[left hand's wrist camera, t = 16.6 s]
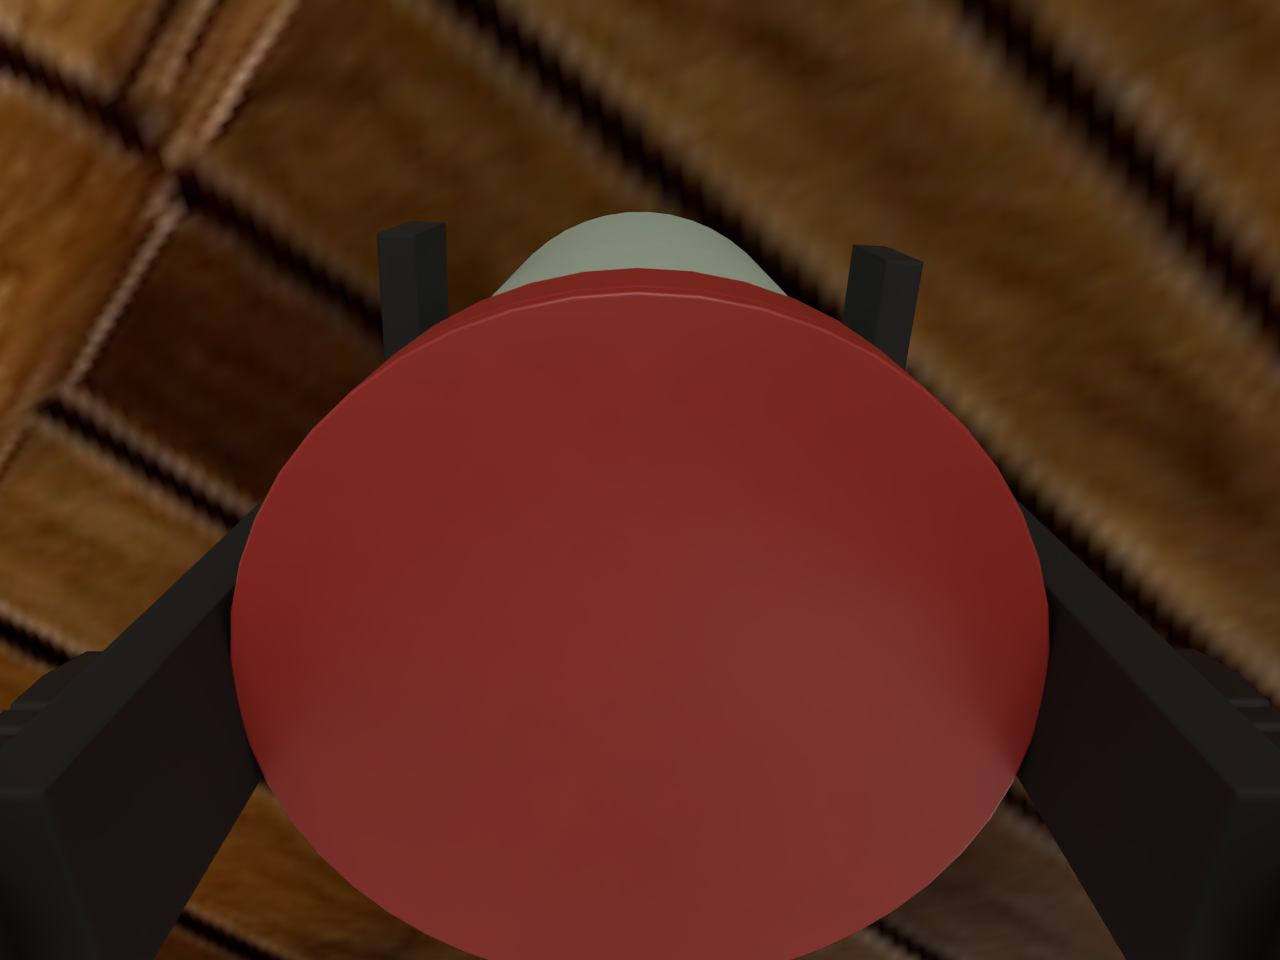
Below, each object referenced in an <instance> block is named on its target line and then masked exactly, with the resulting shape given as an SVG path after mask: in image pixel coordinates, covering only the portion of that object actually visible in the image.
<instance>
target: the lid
mask: <svg viewBox="0 0 1280 960" xmlns="http://www.w3.org/2000/svg"><path fill="white" fill-rule="evenodd" d="M230 658H231V665H232V672H233V678H234V683H235V688H236V693H237V698H238V703H239V707H240V712H241V716H242V720H243V725H244V728H245V731H246V735H247V738H248V741H249V745H250V747H251V749H252V751H253V753H254V756H255V758H256V760H257V762H258V764H259V766H260V769H261V771H262V773H263V775H264V777H265V779H266V781H267V784H268V786H269V787H270V789H271V790H272V792H273V793H274V795H275V796H276V798H277V800H278V801H279V803H280V804H281V806H282V807H283V809H284V810H285V812H286V814H287V815H288V817H289V818H290V820H291V821H292V823H293V824H294V825H295V826H296V827H297V829H298V830H299V831H300V832H301V833H302V835H303V836H304V837H305V838H306V839H307V841H308V842H309V843H310V844H311V845H312V846H313V848H314V849H315V850H316V851H317V852H318V854H319V855H320V856H321V857H322V858H323V859H324V860H325V861H326V862H328V863H329V864H330V865H331V866H332V867H333V868H334V869H335V870H336V871H337V872H338V873H339V874H340V875H341V876H343V877H344V878H345V879H346V880H347V881H348V882H349V883H350V884H351V885H352V886H353V887H355V888H356V889H358V890H359V891H360V892H362V893H363V894H364V895H366V896H367V897H368V898H370V899H371V900H372V901H374V902H375V903H376V904H378V905H379V906H381V907H382V908H383V909H385V910H386V911H387V912H389V913H391V914H392V915H394V916H396V917H397V918H399V919H401V920H403V921H404V922H406V923H408V924H409V925H411V926H413V927H415V928H416V929H418V930H420V931H421V932H423V933H425V934H427V935H429V936H431V937H433V938H435V939H438V940H440V941H442V942H444V943H447V944H449V945H451V946H453V947H455V948H458V949H460V950H462V951H464V952H467V953H469V954H472V955H475V956H478V957H481V958H484V959H487V960H792V959H795V958H798V957H801V956H804V955H807V954H810V953H813V952H815V951H818V950H820V949H822V948H824V947H827V946H829V945H831V944H833V943H835V942H837V941H839V940H842V939H844V938H846V937H848V936H850V935H852V934H855V933H857V932H858V931H860V930H862V929H863V928H865V927H867V926H868V925H870V924H872V923H874V922H875V921H877V920H879V919H880V918H882V917H884V916H885V915H887V914H889V913H890V912H892V911H894V910H895V909H897V908H898V907H899V906H901V905H902V904H903V903H905V902H906V901H907V900H908V899H910V898H911V897H912V896H914V895H915V894H916V893H918V892H919V891H920V890H922V889H923V888H924V887H926V886H927V885H928V884H930V883H931V882H932V881H933V880H934V879H935V878H936V877H937V876H938V875H939V874H940V873H941V872H942V871H943V870H944V869H946V868H947V867H948V866H949V865H950V864H951V863H952V862H953V861H954V860H955V859H956V858H957V857H958V856H959V855H960V854H961V853H962V852H963V851H964V850H965V849H966V847H967V846H968V845H969V844H970V842H971V841H972V840H973V839H974V838H975V836H976V835H977V834H978V833H979V832H980V830H981V829H982V828H983V827H984V825H985V824H986V823H987V822H988V821H989V819H990V818H991V816H992V815H993V813H994V812H995V810H996V808H997V807H998V805H999V804H1000V802H1001V800H1002V799H1003V797H1004V796H1005V794H1006V792H1007V791H1008V789H1009V788H1010V786H1011V784H1012V783H1013V781H1014V779H1015V777H1016V774H1017V772H1018V770H1019V768H1020V766H1021V763H1022V761H1023V759H1024V757H1025V754H1026V752H1027V750H1028V748H1029V746H1030V743H1031V741H1032V738H1033V734H1034V730H1035V726H1036V722H1037V717H1038V713H1039V709H1040V704H1041V700H1042V695H1043V690H1044V685H1045V680H1046V675H1047V669H1048V661H1049V619H1048V602H1047V597H1046V592H1045V587H1044V581H1043V576H1042V571H1041V566H1040V560H1039V557H1038V554H1037V551H1036V549H1035V546H1034V543H1033V540H1032V538H1031V535H1030V532H1029V529H1028V527H1027V524H1026V521H1025V518H1024V516H1023V513H1022V511H1021V509H1020V507H1019V505H1018V504H1017V502H1016V500H1015V498H1014V497H1013V495H1012V493H1011V491H1010V489H1009V488H1008V486H1007V484H1006V482H1005V480H1004V479H1003V477H1002V475H1001V473H1000V471H999V470H998V468H997V466H996V465H995V464H994V463H993V461H992V460H991V459H990V457H989V456H988V455H987V454H986V452H985V451H984V450H983V449H982V447H981V446H980V445H979V443H978V442H977V441H976V440H975V438H974V437H973V436H972V434H971V433H970V432H969V431H968V429H967V428H966V427H965V426H964V425H963V424H962V423H961V422H960V421H959V420H958V419H957V418H956V417H955V416H954V415H953V414H952V413H951V412H950V411H949V410H948V409H946V408H945V407H944V406H943V405H942V404H941V403H940V402H939V401H938V400H937V399H936V398H935V397H934V396H933V395H932V394H931V393H929V392H928V391H927V390H926V389H925V388H924V387H923V386H922V385H921V384H920V383H918V382H917V381H916V380H915V379H914V378H913V377H911V376H910V375H909V374H908V373H907V372H906V371H904V370H903V369H902V368H901V367H900V366H899V365H897V364H896V363H895V362H894V361H893V360H892V359H890V358H889V357H888V356H887V355H886V354H885V353H883V352H882V351H881V350H880V349H878V348H877V347H875V346H874V345H872V344H871V343H870V342H868V341H867V340H865V339H864V338H862V337H861V336H860V335H858V334H857V333H855V332H854V331H852V330H851V329H850V328H848V327H847V326H845V325H844V324H842V323H841V322H839V321H837V320H835V319H833V318H831V317H829V316H827V315H825V314H823V313H821V312H819V311H818V310H816V309H814V308H812V307H810V306H808V305H806V304H804V303H802V302H800V301H798V300H796V299H794V298H791V297H788V296H785V295H782V294H779V293H776V292H773V291H770V290H767V289H765V288H762V287H759V286H756V285H753V284H750V283H747V282H744V281H739V280H734V279H729V278H724V277H719V276H714V275H709V274H704V273H698V272H693V271H682V270H665V269H649V268H628V269H614V270H601V271H587V272H580V273H575V274H570V275H566V276H561V277H556V278H551V279H547V280H542V281H537V282H532V283H529V284H526V285H523V286H521V287H518V288H515V289H512V290H509V291H507V292H504V293H501V294H498V295H495V296H493V297H490V298H487V299H484V300H481V301H479V302H477V303H476V304H474V305H472V306H470V307H468V308H466V309H464V310H462V311H460V312H458V313H456V314H455V315H453V316H451V317H449V318H447V319H445V320H443V321H441V322H439V323H437V324H435V325H434V326H433V327H431V328H430V329H428V330H427V331H426V332H424V333H423V334H421V335H420V336H419V337H417V338H416V339H415V340H413V341H412V342H410V343H409V344H408V345H406V346H405V347H403V348H402V349H401V350H399V351H398V352H396V353H395V354H394V355H393V356H392V357H390V358H389V359H388V360H387V361H386V362H385V363H383V364H382V365H381V366H380V367H379V368H378V369H376V370H375V371H374V372H373V373H372V374H371V375H369V376H368V377H367V378H366V379H365V380H364V381H362V382H361V383H360V384H359V385H358V386H357V387H355V388H354V389H353V390H352V391H351V392H350V393H349V394H348V395H347V396H346V397H345V398H344V399H343V400H342V401H341V402H340V403H339V404H337V405H336V406H335V407H334V408H333V409H332V410H331V411H330V412H329V413H328V414H327V415H326V416H325V417H324V418H323V419H322V420H321V421H320V422H319V423H318V424H317V425H316V426H315V427H314V428H313V429H312V430H311V431H310V432H309V434H308V435H307V436H306V438H305V439H304V440H303V442H302V443H301V444H300V446H299V447H298V448H297V450H296V451H295V452H294V454H293V455H292V456H291V457H290V459H289V460H288V461H287V463H286V464H285V465H284V467H283V468H282V469H281V471H280V472H279V474H278V476H277V478H276V479H275V481H274V483H273V485H272V487H271V489H270V491H269V492H268V494H267V496H266V498H265V500H264V502H263V504H262V506H261V507H260V509H259V511H258V513H257V515H256V517H255V519H254V522H253V525H252V528H251V531H250V534H249V537H248V540H247V543H246V545H245V548H244V551H243V554H242V557H241V560H240V563H239V568H238V574H237V579H236V585H235V591H234V597H233V602H232V608H231V653H230Z"/></svg>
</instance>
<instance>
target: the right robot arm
mask: <svg viewBox="0 0 1280 960" xmlns="http://www.w3.org/2000/svg"><path fill="white" fill-rule="evenodd" d="M377 244H378V260H379V276H380V292H381V308H382V324H383V340H384V355H385V362H386V361H387V360H388V359H389V358H390V357H392V356H393V355H394V354H395V353H396V352H398V351H399V350H401V349H402V348H403V347H405V346H406V345H408V344H409V343H410V342H412V341H413V340H415V339H416V338H417V337H419V336H420V335H421V334H423V333H424V332H426V331H427V330H428V329H430V328H431V327H433V326H434V325H435V324H437V323H439V322H441V321H443V320H445V319H447V318H449V317H448V288H447V258H446V228H445V223H435V222H416V221H411V222H408V223H405V224H402V225H399V226H396V227H394V228H391V229H388V230H385V231H382V232H379V233H377ZM922 267H923V262H922V261H919V260H917V259H915V258H912V257H910V256H907V255H905V254H903V253H900V252H898V251H895V250H893V249H891V248H888V247H885V246H866V245H853V250H852V257H851V264H850V271H849V278H848V285H847V292H846V299H845V306H844V313H843V320H842V324H844V325H845V326H847V327H848V328H850V329H851V330H852V331H854V332H855V333H857V334H858V335H860V336H861V337H862V338H864V339H865V340H867V341H868V342H870V343H871V344H872V345H874V346H875V347H877V348H878V349H880V350H881V351H882V352H883V353H885V354H886V355H887V356H888V357H889V358H890V359H892V360H893V361H894V362H895V363H896V364H897V365H899V366H900V367H901V368H902V369H903V370H904V371H905V365H906V360H907V354H908V348H909V342H910V336H911V331H912V325H913V319H914V313H915V308H916V302H917V296H918V290H919V284H920V279H921V273H922ZM371 374H372V373H370V374H369V375H371ZM369 375H368V376H369ZM368 376H367V377H368ZM367 377H365V378H364V379H363V380H362V381H364V380H365V379H366V378H367ZM362 381H361V382H362ZM361 382H359V383H358V384H357V385H356V386H355V387H357V386H358V385H359V384H360V383H361ZM355 387H354V388H355ZM354 388H352V389H351V391H352V390H353V389H354ZM486 960H487V959H486Z"/></svg>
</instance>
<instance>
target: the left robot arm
mask: <svg viewBox="0 0 1280 960" xmlns="http://www.w3.org/2000/svg"><path fill="white" fill-rule="evenodd" d="M265 498H266V497H265ZM265 498H264V499H263V500H262V501H261V502H260V503H259V504H258V505H257V506H256V507H255V508H254V509H253V510H252V511H251V512H250V513H249V514H247V515H246V516H245V517H244V518H243V519H242V520H241V521H240V522H239V523H238V524H237V525H236V526H235V527H234V528H233V529H232V530H231V531H230V532H228V533H227V534H226V535H225V536H224V537H223V538H222V539H221V540H220V541H219V542H218V543H217V544H216V545H215V546H214V547H213V548H212V549H211V550H209V551H208V552H207V553H206V554H205V555H204V556H203V557H202V558H201V559H200V560H199V561H198V562H197V563H196V564H195V565H194V566H193V567H192V568H190V569H189V570H188V571H187V572H186V573H185V574H184V575H183V576H182V577H181V578H180V579H179V580H178V581H177V582H176V583H175V584H174V585H173V586H171V587H170V588H169V589H168V590H167V591H166V592H165V593H164V594H163V595H162V596H161V597H160V598H159V599H158V600H157V601H156V602H155V603H154V604H152V605H151V606H150V607H149V608H148V609H147V610H146V611H145V612H144V613H143V614H142V615H141V616H140V617H139V618H138V619H137V620H136V621H135V622H133V623H132V624H131V625H130V626H129V627H128V628H127V629H126V630H125V631H124V632H123V633H122V634H121V635H120V636H119V637H118V638H117V639H116V640H115V641H113V642H112V643H111V644H110V645H109V646H108V647H107V648H106V649H105V650H104V651H87V652H85V653H83V654H81V655H79V656H78V657H76V658H74V659H72V660H70V661H69V662H67V663H65V664H63V665H61V666H60V667H58V668H56V669H54V670H52V671H51V672H49V673H47V674H45V675H43V676H42V677H41V678H40V679H39V680H38V681H36V682H35V683H34V684H33V685H32V686H31V687H30V688H29V689H28V690H26V691H25V692H24V693H23V694H22V695H21V696H20V697H19V698H17V699H16V700H15V701H14V702H13V703H12V704H11V708H10V710H4V711H3V712H2V713H1V714H0V960H153V959H154V958H155V956H156V954H157V953H158V951H159V949H160V947H161V946H162V944H163V942H164V941H165V939H166V937H167V936H168V934H169V932H170V931H171V929H172V927H173V926H174V924H175V922H176V921H177V919H178V917H179V916H180V914H181V912H182V911H183V909H184V907H185V905H186V904H187V902H188V900H189V899H190V897H191V895H192V894H193V892H194V890H195V889H196V887H197V885H198V884H199V882H200V880H201V879H202V877H203V875H204V874H205V872H206V870H207V869H208V867H209V865H210V863H211V862H212V860H213V858H214V857H215V855H216V853H217V852H218V850H219V848H220V847H221V845H222V843H223V842H224V840H225V838H226V837H227V835H228V833H229V832H230V830H231V828H232V827H233V825H234V823H235V822H236V820H237V818H238V816H239V815H240V813H241V811H242V810H243V808H244V806H245V805H246V803H247V801H248V800H249V798H250V796H251V795H252V793H253V791H254V790H255V788H256V786H257V785H258V783H259V781H260V780H261V778H262V776H263V773H262V771H261V769H260V766H259V764H258V762H257V760H256V758H255V756H254V753H253V751H252V749H251V747H250V745H249V741H248V738H247V735H246V731H245V728H244V725H243V720H242V716H241V712H240V707H239V703H238V698H237V693H236V688H235V683H234V678H233V672H232V665H231V658H230V653H231V608H232V602H233V597H234V591H235V585H236V579H237V574H238V568H239V563H240V560H241V557H242V554H243V551H244V548H245V545H246V543H247V540H248V537H249V534H250V531H251V528H252V525H253V522H254V519H255V517H256V515H257V513H258V511H259V509H260V507H261V506H262V504H263V502H264V500H265ZM1015 500H1016V499H1015ZM1016 502H1017V504H1018V505H1019V507H1020V509H1021V511H1022V513H1023V516H1024V518H1025V521H1026V524H1027V527H1028V529H1029V532H1030V535H1031V538H1032V540H1033V543H1034V546H1035V549H1036V551H1037V554H1038V557H1039V560H1040V566H1041V571H1042V576H1043V581H1044V587H1045V592H1046V597H1047V602H1048V619H1049V661H1048V669H1047V675H1046V680H1045V685H1044V690H1043V695H1042V700H1041V704H1040V709H1039V713H1038V717H1037V722H1036V726H1035V730H1034V734H1033V738H1032V741H1031V743H1030V746H1029V748H1028V750H1027V752H1026V754H1025V757H1024V759H1023V761H1022V763H1021V766H1020V768H1019V770H1018V772H1017V774H1016V775H1017V777H1018V779H1019V780H1020V782H1021V784H1022V785H1023V787H1024V789H1025V790H1026V792H1027V794H1028V795H1029V797H1030V799H1031V800H1032V802H1033V804H1034V806H1035V807H1036V809H1037V811H1038V812H1039V814H1040V816H1041V817H1042V819H1043V821H1044V822H1045V824H1046V826H1047V827H1048V829H1049V831H1050V832H1051V834H1052V836H1053V837H1054V839H1055V841H1056V842H1057V844H1058V846H1059V847H1060V849H1061V851H1062V853H1063V854H1064V856H1065V858H1066V859H1067V861H1068V863H1069V864H1070V866H1071V868H1072V869H1073V871H1074V873H1075V874H1076V876H1077V878H1078V879H1079V881H1080V883H1081V884H1082V886H1083V888H1084V889H1085V891H1086V893H1087V895H1088V896H1089V898H1090V900H1091V901H1092V903H1093V905H1094V906H1095V908H1096V910H1097V911H1098V913H1099V915H1100V916H1101V918H1102V920H1103V921H1104V923H1105V925H1106V926H1107V928H1108V930H1109V931H1110V933H1111V935H1112V937H1113V938H1114V940H1115V942H1116V943H1117V945H1118V947H1119V948H1120V950H1121V952H1122V953H1123V955H1124V957H1125V958H1126V960H1280V710H1279V709H1278V708H1277V707H1271V706H1270V701H1269V700H1268V699H1266V698H1265V697H1264V696H1263V695H1262V694H1261V693H1260V692H1259V691H1257V690H1256V689H1255V688H1254V687H1253V686H1252V685H1251V684H1250V683H1248V682H1247V681H1246V680H1245V679H1244V678H1243V677H1242V676H1241V675H1239V674H1238V673H1237V672H1235V671H1233V670H1231V669H1230V668H1228V667H1226V666H1224V665H1222V664H1221V663H1219V662H1217V661H1215V660H1213V659H1212V658H1210V657H1208V656H1206V655H1204V654H1202V653H1201V652H1199V651H1197V650H1195V649H1173V648H1172V647H1171V646H1170V645H1169V644H1168V643H1167V642H1166V641H1165V640H1164V639H1163V638H1162V637H1161V636H1160V635H1159V634H1158V633H1157V632H1155V631H1154V630H1153V629H1152V628H1151V627H1150V626H1149V625H1148V624H1147V623H1146V622H1145V621H1144V620H1143V619H1142V618H1141V617H1140V616H1139V615H1138V614H1136V613H1135V612H1134V611H1133V610H1132V609H1131V608H1130V607H1129V606H1128V605H1127V604H1126V603H1125V602H1124V601H1123V600H1122V599H1121V598H1120V597H1119V596H1117V595H1116V594H1115V593H1114V592H1113V591H1112V590H1111V589H1110V588H1109V587H1108V586H1107V585H1106V584H1105V583H1104V582H1103V581H1102V580H1101V579H1100V578H1098V577H1097V576H1096V575H1095V574H1094V573H1093V572H1092V571H1091V570H1090V569H1089V568H1088V567H1087V566H1086V565H1085V564H1084V563H1083V562H1082V561H1081V560H1080V559H1078V558H1077V557H1076V556H1075V555H1074V554H1073V553H1072V552H1071V551H1070V550H1069V549H1068V548H1067V547H1066V546H1065V545H1064V544H1063V543H1062V542H1061V541H1059V540H1058V539H1057V538H1056V537H1055V536H1054V535H1053V534H1052V533H1051V532H1050V531H1049V530H1048V529H1047V528H1046V527H1045V526H1044V525H1043V524H1042V523H1040V522H1039V521H1038V520H1037V519H1036V518H1035V517H1034V516H1033V515H1032V514H1031V513H1030V512H1029V511H1028V510H1027V509H1026V508H1025V507H1024V506H1023V505H1021V504H1020V503H1019V502H1018V501H1017V500H1016Z"/></svg>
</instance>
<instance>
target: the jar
mask: <svg viewBox="0 0 1280 960" xmlns="http://www.w3.org/2000/svg"><path fill="white" fill-rule="evenodd" d="M628 268H649V269H665V270H682V271H693V272H698V273H704V274H709V275H714V276H719V277H724V278H729V279H734V280H739V281H744V282H747V283H750V284H753V285H756V286H759V287H762V288H765V289H767V290H770V291H773V292H776V293H779V294H782V295H785V296H787V295H786V294H785V293H784V292H783V291H782V290H781V289H780V288H779V287H778V286H777V284H776V283H775V282H774V281H773V280H772V279H771V278H770V277H769V276H768V275H767V274H766V273H765V272H764V271H763V270H762V269H761V268H760V267H759V266H758V265H757V264H756V263H755V262H754V261H753V260H752V259H751V258H750V257H749V256H748V254H747V253H745V252H744V251H743V250H742V249H740V248H739V247H738V246H737V245H735V244H734V243H733V242H732V241H730V240H729V239H727V238H726V237H724V236H722V235H721V234H719V233H717V232H716V231H714V230H712V229H710V228H708V227H706V226H703V225H701V224H699V223H696V222H694V221H692V220H688V219H684V218H681V217H677V216H673V215H668V214H660V213H653V212H626V213H619V214H613V215H606V216H603V217H599V218H596V219H592V220H589V221H586V222H583V223H581V224H579V225H577V226H574V227H572V228H570V229H568V230H566V231H564V232H562V233H561V234H559V235H558V236H556V237H554V238H553V239H551V240H550V241H548V242H547V243H546V244H544V245H543V246H542V247H541V248H540V249H538V250H537V251H536V252H535V253H534V254H532V255H531V256H530V257H529V258H528V259H527V260H526V261H525V263H524V264H523V265H522V266H521V267H520V268H519V269H518V270H517V271H516V272H515V273H514V274H513V275H512V276H511V277H510V278H509V279H508V280H507V281H506V282H505V283H504V284H503V285H502V286H501V287H500V288H499V289H498V290H497V291H496V292H495V293H494V294H493V296H495V295H498V294H501V293H504V292H507V291H509V290H512V289H515V288H518V287H521V286H523V285H526V284H529V283H532V282H537V281H542V280H547V279H551V278H556V277H561V276H566V275H570V274H575V273H580V272H587V271H601V270H614V269H628ZM493 296H492V297H493Z"/></svg>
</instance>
